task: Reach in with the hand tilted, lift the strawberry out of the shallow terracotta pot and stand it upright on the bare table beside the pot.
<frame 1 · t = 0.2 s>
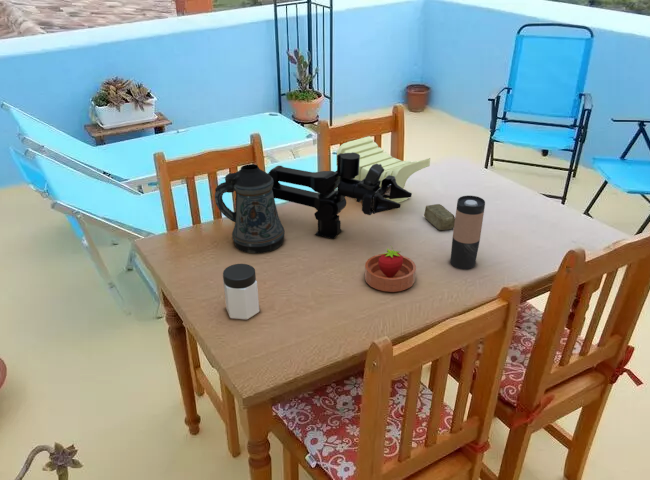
hand: (406, 200, 170), 17 cm above the table, tool horizontal, fingers open, 9 cm apart
strawberry: (389, 278, 165), resting in pot
stone block: (438, 224, 194), on the table
jar: (242, 311, 153), on the table
pot: (389, 279, 165), on the table
beer stein: (255, 243, 185), on the table
slatted curved stool: (379, 199, 211), on the table
travel mug: (462, 263, 172), on the table
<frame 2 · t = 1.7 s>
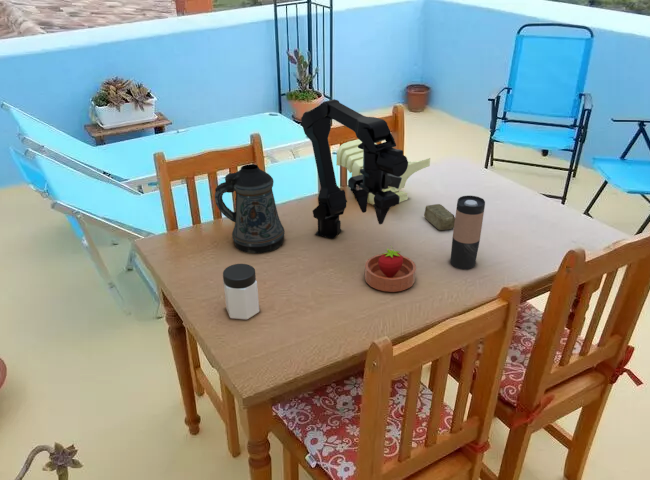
hand: (372, 218, 169), 13 cm above the table, tool pointing down, fingers open, 9 cm apart
nothing on the table moved.
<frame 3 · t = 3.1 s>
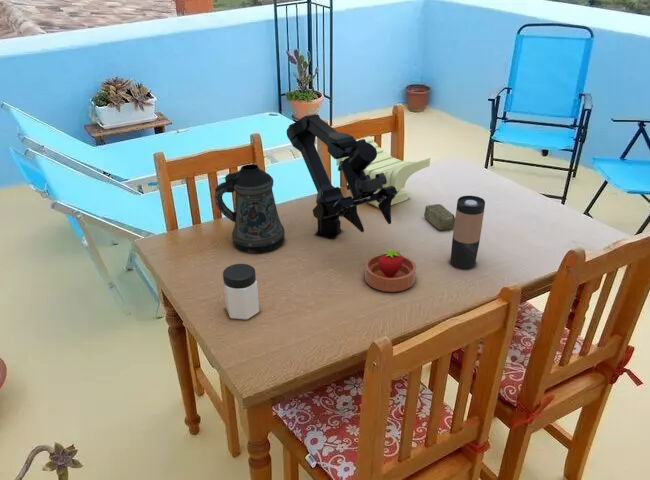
hand: (376, 227, 163), 13 cm above the table, tool tilted 45°, fingers open, 9 cm apart
nothing on the table moved.
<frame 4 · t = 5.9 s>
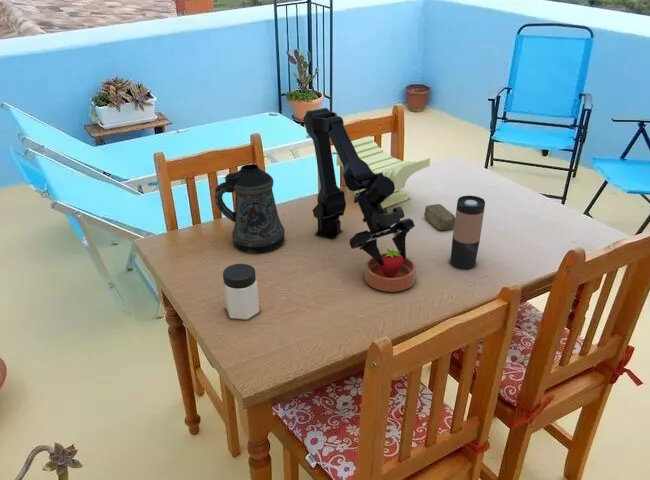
hand: (393, 261, 160), 7 cm above the table, tool tilted 45°, fingers closed on strawberry, 7 cm apart
strawberry: (389, 278, 165), resting in pot, touching gripper
everything else where it was.
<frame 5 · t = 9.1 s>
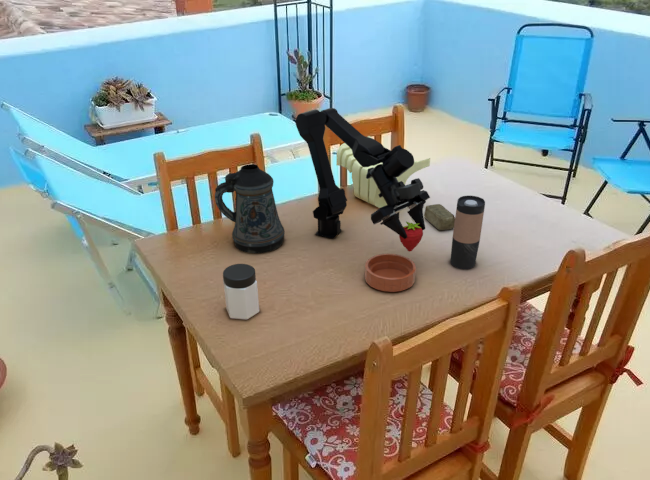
hand: (415, 234, 161), 13 cm above the table, tool tilted 45°, fingers closed on strawberry, 7 cm apart
strawberry: (409, 251, 165), point 7 cm above the table, touching gripper
everything else where it was.
when the fingers open (6 cm above the table, at t = 12.7 s): strawberry stays where it is, on the table.
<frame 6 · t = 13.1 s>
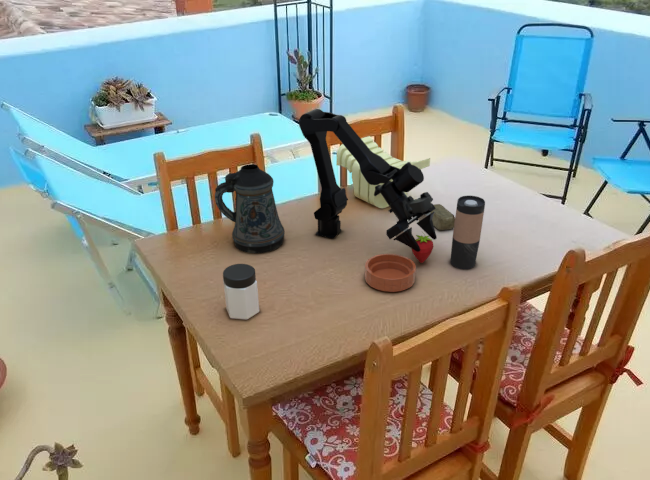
hand: (427, 245, 168), 6 cm above the table, tool tilted 45°, fingers open, 9 cm apart
strawberry: (420, 263, 173), on the table
everything else where it was.
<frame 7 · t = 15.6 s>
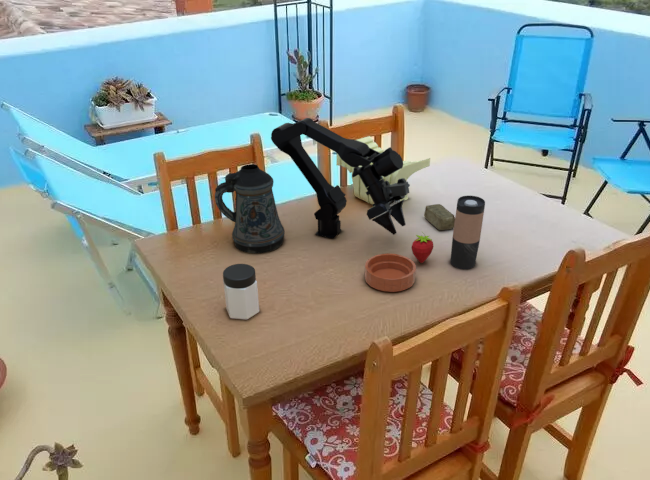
hand: (399, 229, 173), 8 cm above the table, tool tilted 35°, fingers open, 9 cm apart
nothing on the table moved.
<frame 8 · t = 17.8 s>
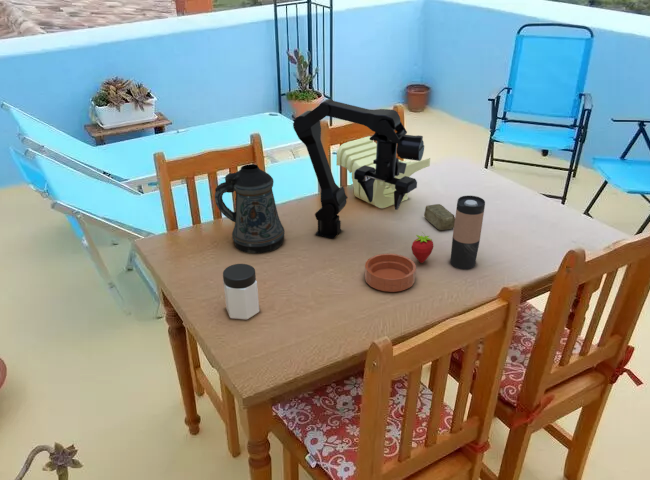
hand: (383, 205, 176), 13 cm above the table, tool pointing down, fingers open, 9 cm apart
nothing on the table moved.
at the end: strawberry inside the target area (0.6 cm from its centre), on the table; strawberry tilted 0°; strawberry touching table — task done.
